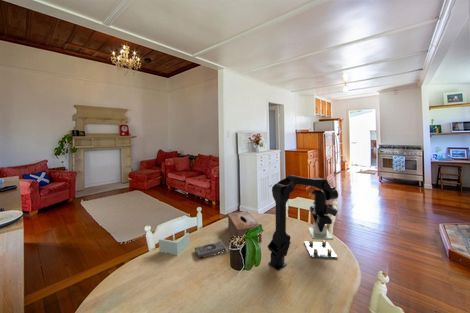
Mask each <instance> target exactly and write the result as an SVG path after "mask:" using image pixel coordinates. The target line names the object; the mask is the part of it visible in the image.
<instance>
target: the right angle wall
mask: <svg viewBox="0 0 470 313" xmlns="http://www.w3.org/2000/svg"><path fill="white" fill-rule="evenodd" d="M189 244H190V232H187V233H185V234H183V235H182V236H181V237H180V238H179V239H178V240H177V241H175V240H169V239H164V238H159V239H158V249H159V252H160V251H162V252H165V253H164V254H167V253H170V254H169V255H172V254H175V255H174V256H177V255H178V254H179V253H180V254H181V253H183V251H185V248H186V247H187V246H188V245H189ZM189 246H190V245H189ZM189 246H188V247H189ZM188 247H187V248H188ZM187 248H186V249H187ZM162 252H161V253H162ZM180 254H179V255H180ZM179 255H178V256H179Z"/></svg>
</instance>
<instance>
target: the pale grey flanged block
mask: <svg viewBox="0 0 470 313" xmlns="http://www.w3.org/2000/svg"><path fill="white" fill-rule="evenodd" d="M312 223H313V224H312V225H313V226H312V227H310V226H309V227H307V229H308V232H309V234H310V236H311V240H316V241H317V240H319V241H322V240H325V241H334V238H333V236H332V234H331V232H330V231H329V229H328V224H325V225H324V228H323V231H322V232H320V230H319V228H318V225H317V222H315V221H313V222H312Z"/></svg>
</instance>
